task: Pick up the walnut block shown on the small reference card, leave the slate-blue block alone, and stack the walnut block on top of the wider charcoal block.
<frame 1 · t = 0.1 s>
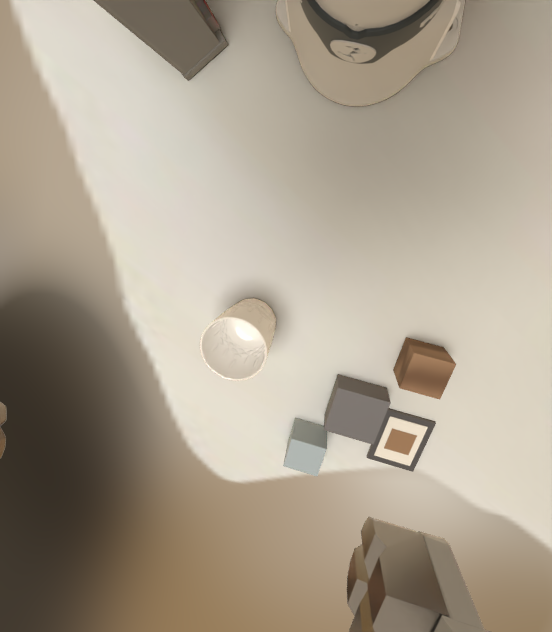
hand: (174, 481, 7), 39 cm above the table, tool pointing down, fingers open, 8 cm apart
slate-blue block: (307, 435, 53), on the table
white cup: (253, 320, 48), on the table
walnut block: (417, 358, 46), on the table
grey box: (174, 3, 38), on the table
charcoal base block: (354, 400, 50), on the table
reference card: (399, 439, 50), on the table
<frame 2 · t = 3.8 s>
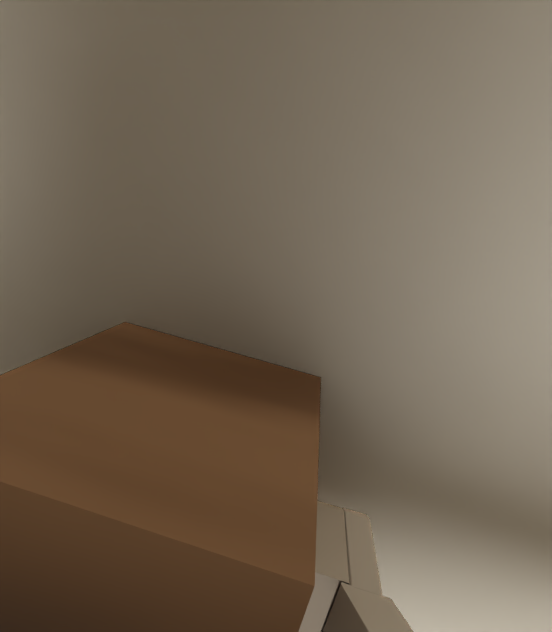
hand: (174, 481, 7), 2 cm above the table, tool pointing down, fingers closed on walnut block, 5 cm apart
walnut block: (202, 436, 9), on the table, touching gripper
when the fingers open (7 cm above the table, at t = 8.6 s): walnut block drops 1 cm, resting on charcoal base block.
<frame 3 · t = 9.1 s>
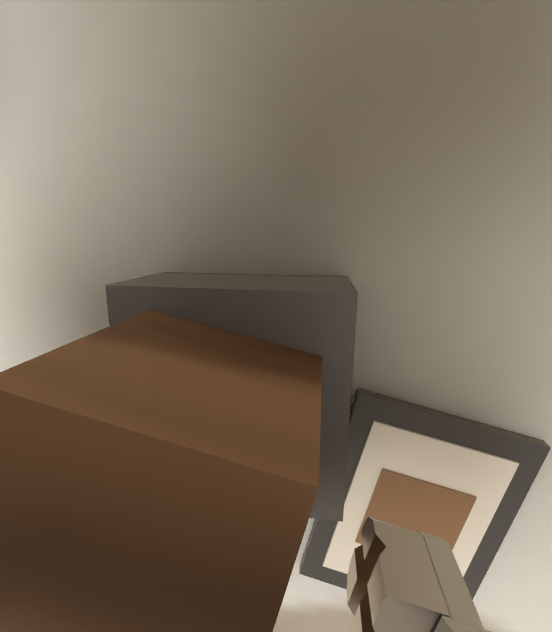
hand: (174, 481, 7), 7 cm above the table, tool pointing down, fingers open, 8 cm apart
walnut block: (217, 410, 10), point 4 cm above the table, touching charcoal base block
charcoal base block: (255, 359, 14), on the table, touching walnut block
reference card: (409, 509, 14), on the table
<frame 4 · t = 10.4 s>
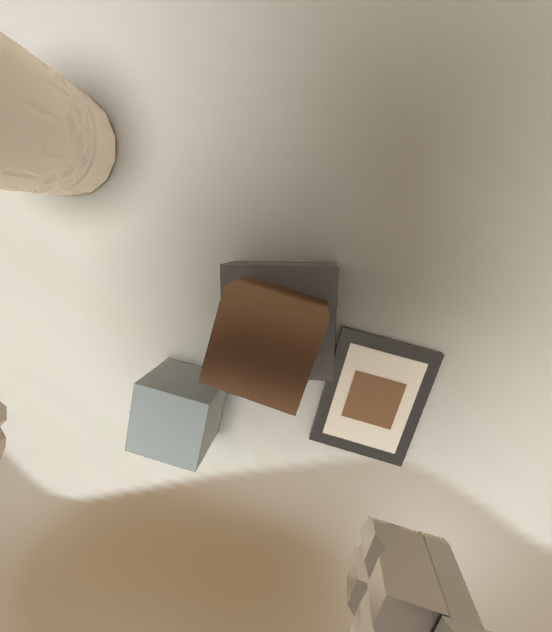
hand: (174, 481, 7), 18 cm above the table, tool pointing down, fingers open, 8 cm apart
slate-blue block: (194, 395, 27), on the table
white cup: (74, 146, 24), on the table
walnut block: (275, 326, 21), point 4 cm above the table
charcoal base block: (284, 310, 25), on the table
reference card: (372, 396, 25), on the table
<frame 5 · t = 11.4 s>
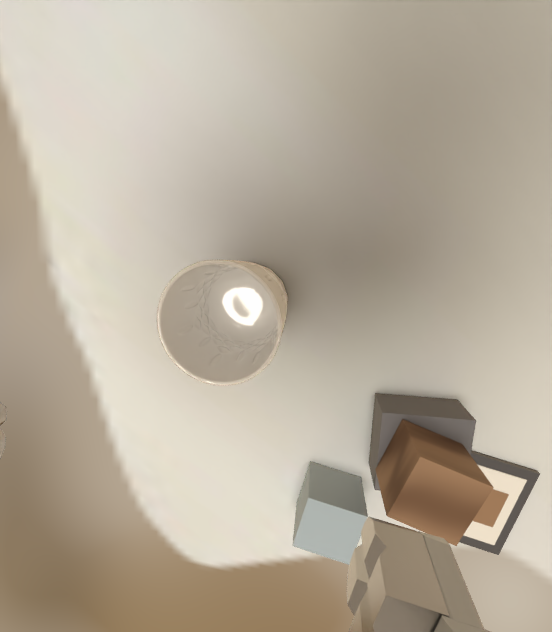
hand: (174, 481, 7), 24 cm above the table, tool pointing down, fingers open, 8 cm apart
slate-blue block: (328, 490, 33), on the table
white cup: (251, 300, 31), on the table
walnut block: (417, 457, 27), point 4 cm above the table, touching charcoal base block
charcoal base block: (410, 430, 31), on the table, touching walnut block
reference card: (477, 500, 31), on the table
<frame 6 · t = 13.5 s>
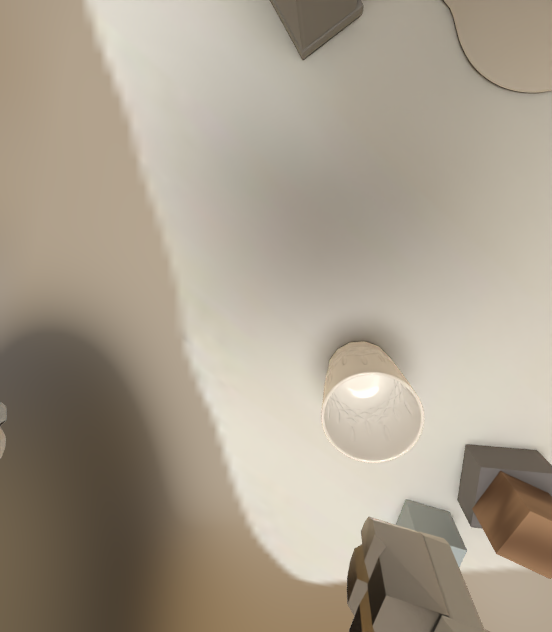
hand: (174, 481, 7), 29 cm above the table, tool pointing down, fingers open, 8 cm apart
slate-blue block: (420, 522, 40), on the table
white cup: (359, 370, 37), on the table
walnut block: (509, 501, 33), point 4 cm above the table, touching charcoal base block
charcoal base block: (494, 474, 37), on the table, touching walnut block
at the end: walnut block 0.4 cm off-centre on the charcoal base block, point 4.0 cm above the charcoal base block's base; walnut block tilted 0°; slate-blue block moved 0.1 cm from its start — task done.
